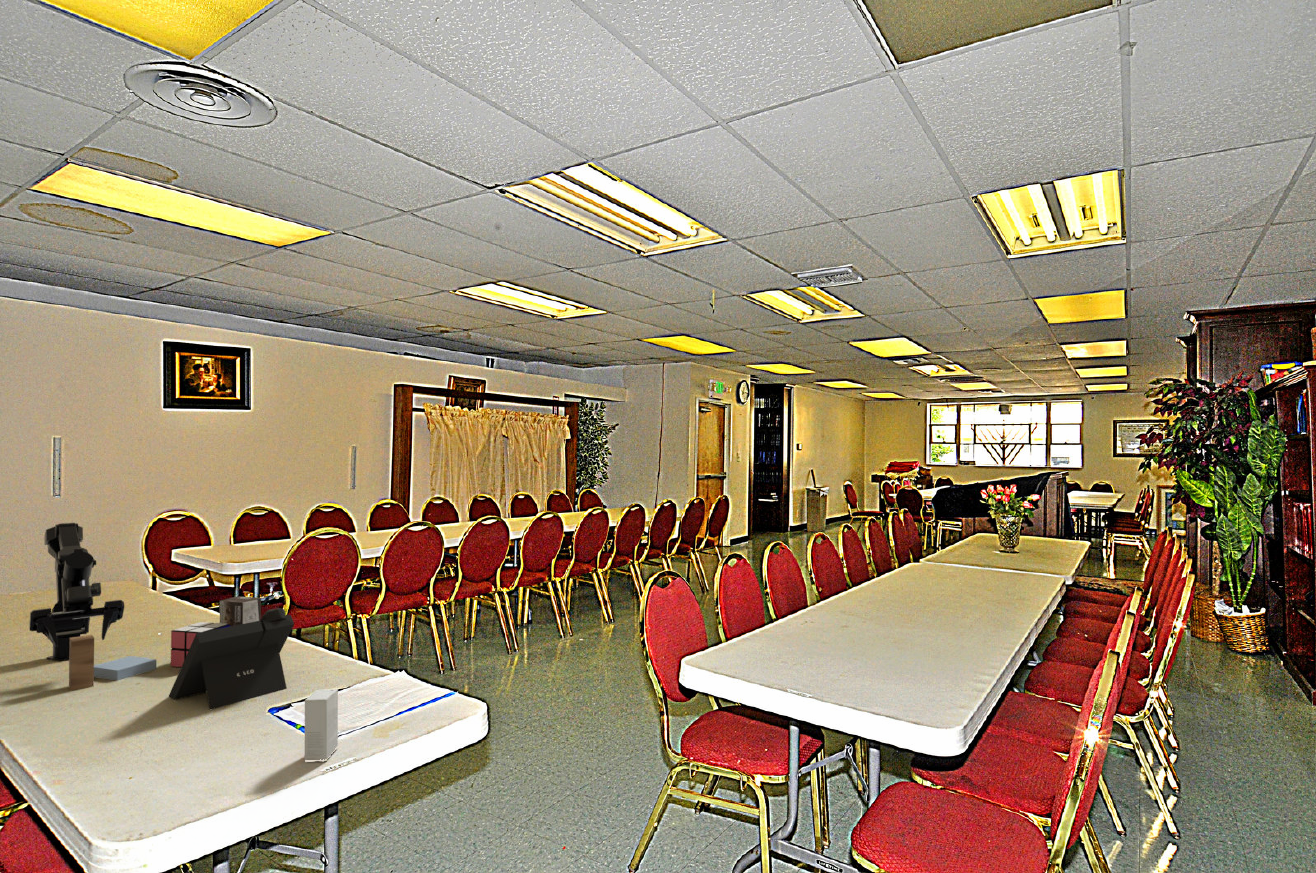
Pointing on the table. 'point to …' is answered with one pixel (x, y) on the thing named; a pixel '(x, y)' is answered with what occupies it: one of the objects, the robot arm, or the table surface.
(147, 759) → the table surface
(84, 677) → the walnut post
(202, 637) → the office phone
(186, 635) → the puzzle cube
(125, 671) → the blue block
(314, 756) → the skincare box
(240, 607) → the coffee box
